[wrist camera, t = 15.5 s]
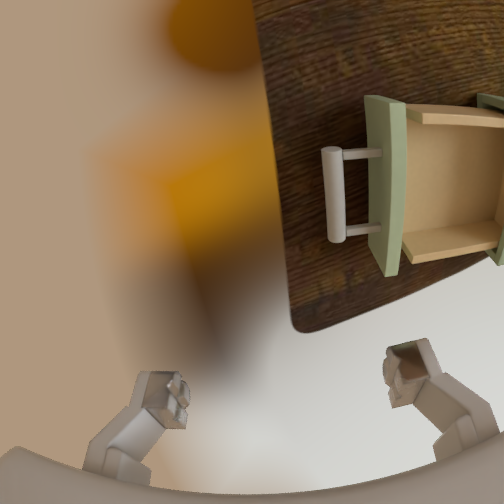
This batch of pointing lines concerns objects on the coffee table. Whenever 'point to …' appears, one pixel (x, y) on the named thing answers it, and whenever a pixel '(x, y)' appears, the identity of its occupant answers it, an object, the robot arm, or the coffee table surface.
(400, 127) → the drawer
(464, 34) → the coffee table surface
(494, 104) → the cabinet
